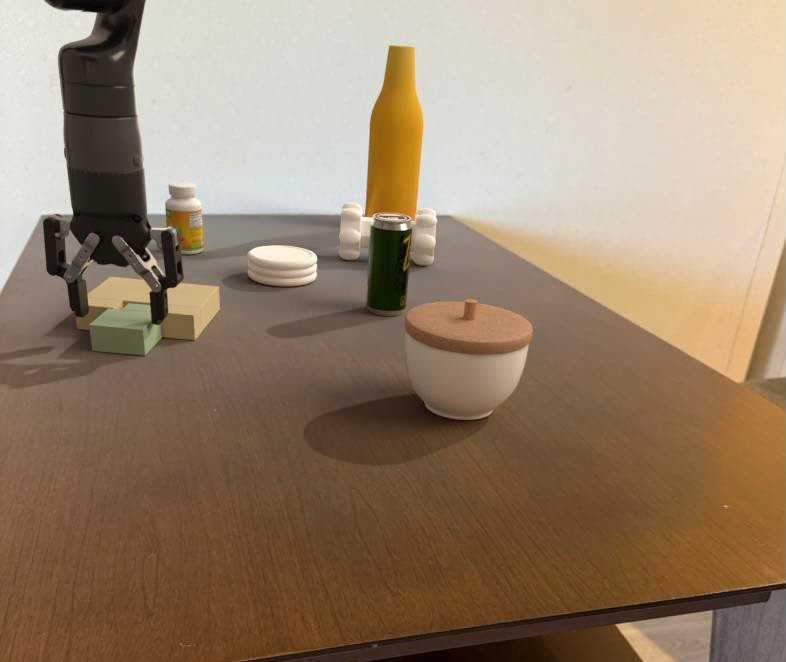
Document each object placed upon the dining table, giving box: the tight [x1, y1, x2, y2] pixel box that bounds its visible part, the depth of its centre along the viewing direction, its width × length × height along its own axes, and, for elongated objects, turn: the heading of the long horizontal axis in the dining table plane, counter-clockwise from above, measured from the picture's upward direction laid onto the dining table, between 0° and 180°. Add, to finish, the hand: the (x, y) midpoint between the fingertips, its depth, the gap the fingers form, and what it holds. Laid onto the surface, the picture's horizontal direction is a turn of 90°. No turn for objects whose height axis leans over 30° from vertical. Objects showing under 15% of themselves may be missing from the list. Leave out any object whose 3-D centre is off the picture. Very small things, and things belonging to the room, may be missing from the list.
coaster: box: [246, 244, 318, 287], centre depth 123 cm, size 10×10×4 cm
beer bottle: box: [364, 44, 424, 221], centre depth 146 cm, size 9×9×29 cm
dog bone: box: [338, 202, 438, 267], centre depth 134 cm, size 15×9×8 cm, turn 90°
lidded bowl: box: [403, 298, 534, 421], centre depth 86 cm, size 13×13×11 cm
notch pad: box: [75, 276, 221, 341], centre depth 104 cm, size 14×12×3 cm
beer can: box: [365, 213, 412, 317], centre depth 111 cm, size 5×5×12 cm
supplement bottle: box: [164, 181, 204, 256], centre depth 130 cm, size 5×5×10 cm
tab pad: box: [89, 303, 163, 357], centre depth 97 cm, size 8×6×3 cm
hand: (120, 319), depth 95 cm, fingers open, 8 cm apart
